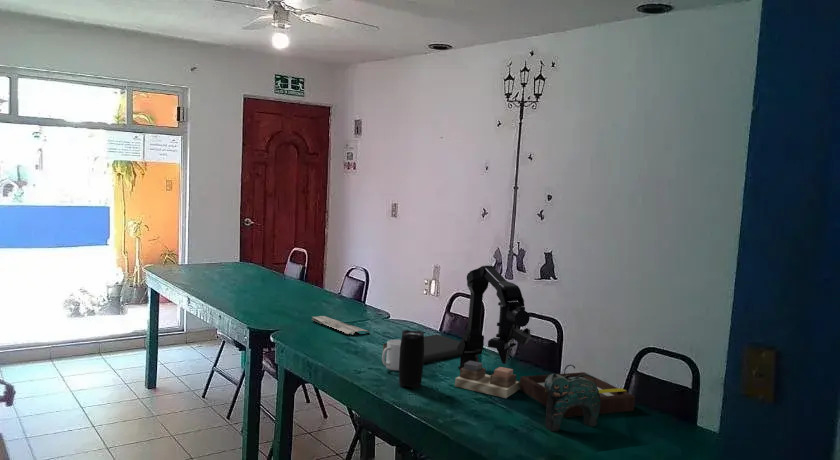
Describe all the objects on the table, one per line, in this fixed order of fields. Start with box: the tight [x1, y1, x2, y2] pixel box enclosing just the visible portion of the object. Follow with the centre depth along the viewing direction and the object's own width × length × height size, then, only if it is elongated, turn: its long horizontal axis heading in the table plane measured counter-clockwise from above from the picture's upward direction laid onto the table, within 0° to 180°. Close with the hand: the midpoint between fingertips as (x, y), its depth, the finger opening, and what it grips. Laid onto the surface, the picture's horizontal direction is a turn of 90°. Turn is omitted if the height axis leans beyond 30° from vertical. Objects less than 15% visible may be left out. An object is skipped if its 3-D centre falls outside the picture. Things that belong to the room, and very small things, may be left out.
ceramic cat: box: [544, 364, 601, 433], centre depth 200 cm, size 20×6×20 cm, turn 114°
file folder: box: [382, 334, 461, 365], centre depth 279 cm, size 33×4×24 cm
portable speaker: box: [398, 329, 425, 390], centre depth 231 cm, size 9×9×20 cm
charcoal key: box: [464, 361, 483, 372], centre depth 237 cm, size 5×5×3 cm
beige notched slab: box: [311, 315, 370, 335], centre depth 314 cm, size 35×12×4 cm, turn 43°
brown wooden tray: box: [519, 371, 636, 418], centre depth 227 cm, size 28×7×30 cm
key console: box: [454, 367, 520, 399], centre depth 234 cm, size 20×12×6 cm, turn 60°
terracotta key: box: [493, 366, 514, 379], centre depth 231 cm, size 5×5×3 cm
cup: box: [381, 339, 401, 372], centre depth 251 cm, size 8×12×10 cm
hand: (504, 363), depth 231 cm, fingers closed
